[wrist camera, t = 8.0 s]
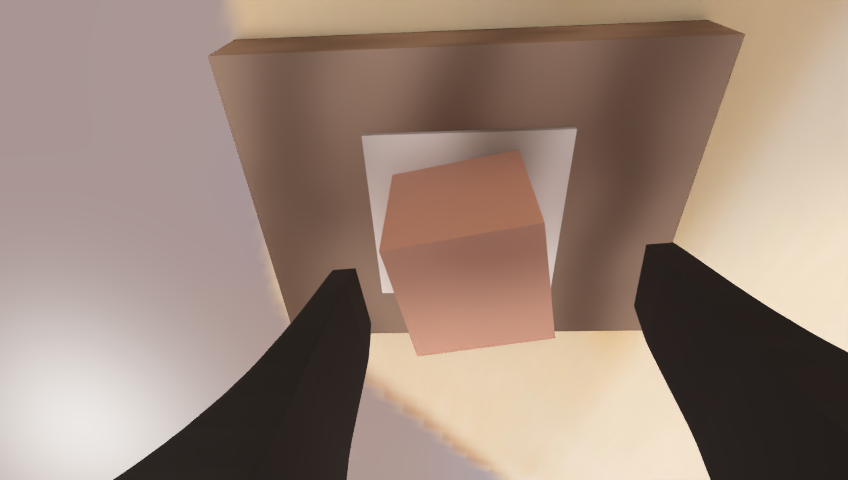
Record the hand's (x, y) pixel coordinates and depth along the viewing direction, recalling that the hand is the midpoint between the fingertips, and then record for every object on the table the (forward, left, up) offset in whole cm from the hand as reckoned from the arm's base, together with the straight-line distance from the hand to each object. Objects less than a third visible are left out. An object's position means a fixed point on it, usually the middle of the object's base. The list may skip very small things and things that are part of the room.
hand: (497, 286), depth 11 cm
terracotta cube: (0, +3, -7) cm, 8 cm away
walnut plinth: (0, +3, -10) cm, 10 cm away
